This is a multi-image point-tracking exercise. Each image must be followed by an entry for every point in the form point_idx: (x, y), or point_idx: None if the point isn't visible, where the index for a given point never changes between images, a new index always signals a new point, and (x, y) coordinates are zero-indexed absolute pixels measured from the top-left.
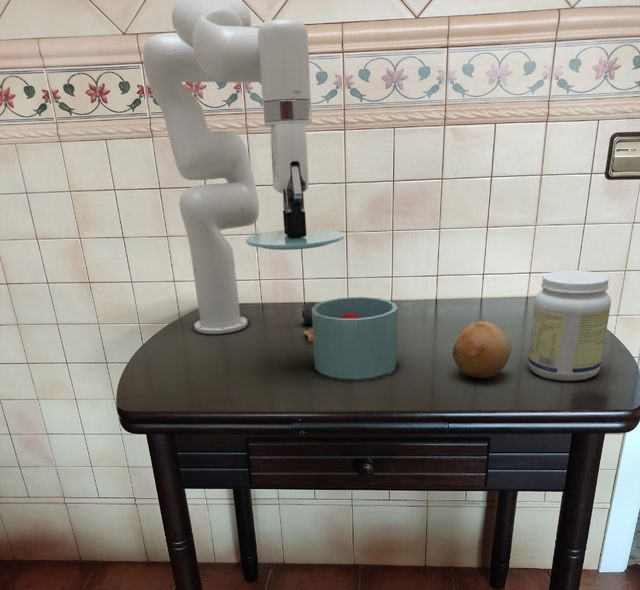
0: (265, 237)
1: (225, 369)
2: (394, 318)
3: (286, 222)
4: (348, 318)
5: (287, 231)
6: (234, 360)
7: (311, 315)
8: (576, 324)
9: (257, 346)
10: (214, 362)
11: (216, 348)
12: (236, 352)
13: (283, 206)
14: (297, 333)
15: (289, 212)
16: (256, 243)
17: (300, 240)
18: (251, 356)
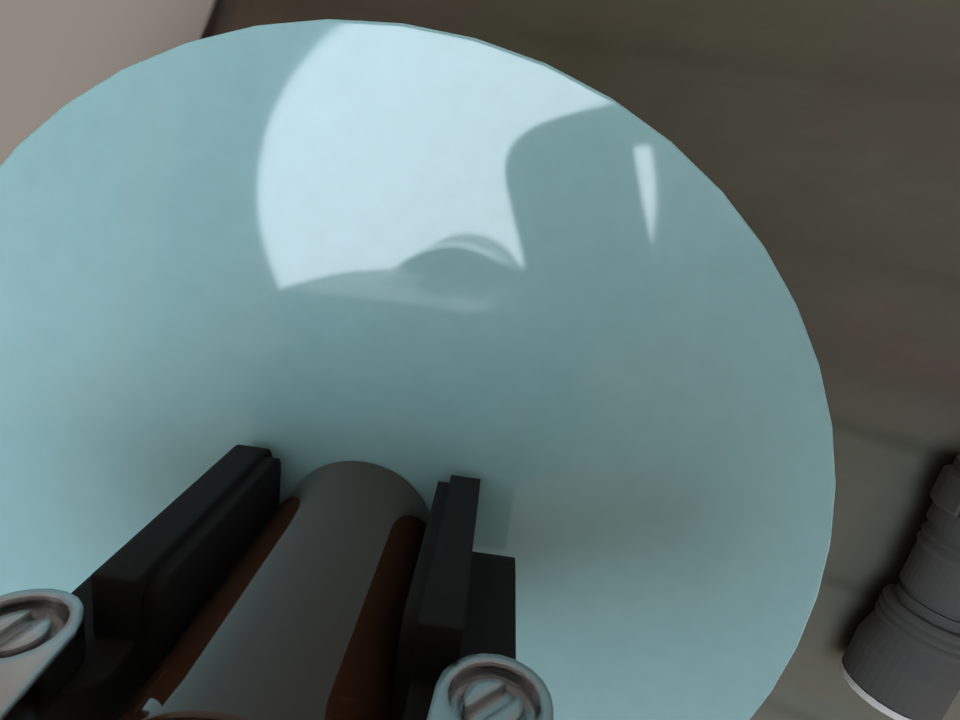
0: (468, 266)
1: (619, 39)
2: None
3: (180, 509)
4: None
5: (218, 465)
6: (702, 93)
7: (950, 492)
8: None
9: (817, 216)
10: (721, 7)
11: (895, 43)
12: (793, 118)
13: (549, 699)
14: (881, 400)
15: (17, 610)
16: (117, 84)
17: (104, 502)
18: (712, 167)
